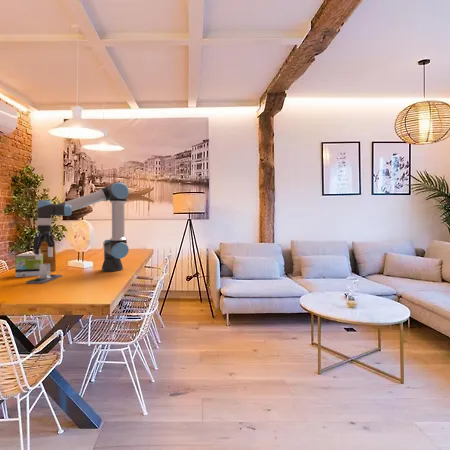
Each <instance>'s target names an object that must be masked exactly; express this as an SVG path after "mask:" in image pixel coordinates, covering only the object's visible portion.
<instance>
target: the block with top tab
mask: <svg viewBox="0 0 450 450" xmlns="http://www.w3.org/2000/svg"><path fill="white" fill-rule="evenodd" d="M39 266H40V276H37V278H40V279H48V278H52V277H51V275H52V273H51V271H50V264H40V265H39Z"/></svg>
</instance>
